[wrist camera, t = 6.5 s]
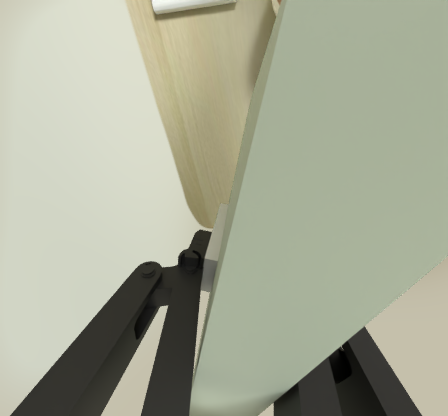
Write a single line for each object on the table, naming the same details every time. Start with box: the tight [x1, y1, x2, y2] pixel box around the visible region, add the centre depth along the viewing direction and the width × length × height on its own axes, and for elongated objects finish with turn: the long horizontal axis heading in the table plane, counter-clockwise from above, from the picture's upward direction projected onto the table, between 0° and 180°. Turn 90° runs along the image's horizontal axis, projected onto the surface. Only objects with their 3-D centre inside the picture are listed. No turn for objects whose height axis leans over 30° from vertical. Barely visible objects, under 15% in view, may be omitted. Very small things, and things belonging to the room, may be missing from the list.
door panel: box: [189, 0, 448, 416], centre depth 10 cm, size 18×4×11 cm, turn 170°
